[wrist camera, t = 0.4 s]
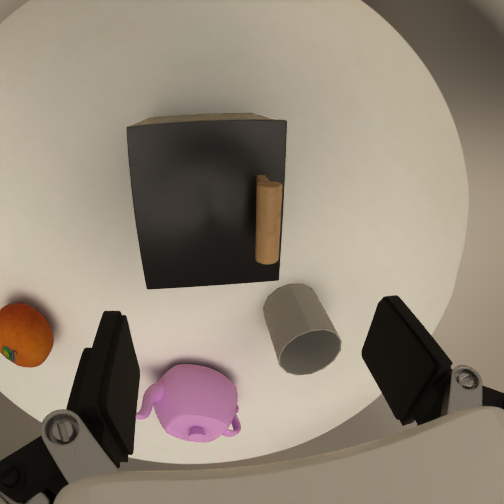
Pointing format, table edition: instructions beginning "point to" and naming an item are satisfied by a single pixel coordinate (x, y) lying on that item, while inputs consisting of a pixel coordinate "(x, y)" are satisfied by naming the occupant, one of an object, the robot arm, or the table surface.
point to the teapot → (193, 403)
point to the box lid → (208, 200)
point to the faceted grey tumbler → (300, 330)
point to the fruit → (24, 335)
